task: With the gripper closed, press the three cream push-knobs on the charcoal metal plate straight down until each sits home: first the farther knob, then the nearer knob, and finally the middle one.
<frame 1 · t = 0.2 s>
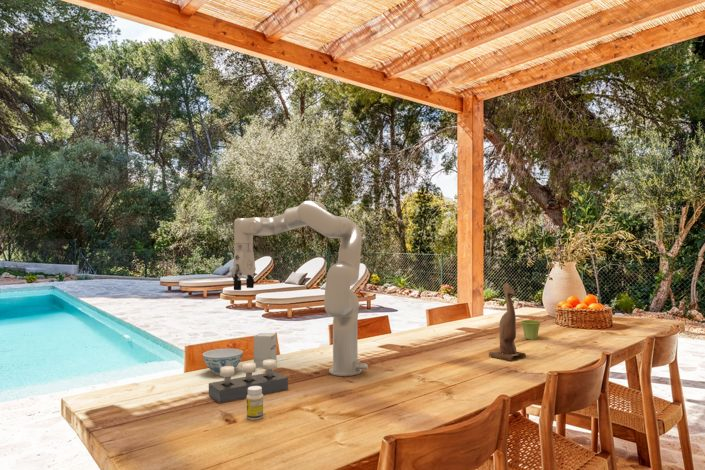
hand: (243, 288, 202), 31 cm above the table, tool pointing down, fingers open, 9 cm apart
bird sculpture: (507, 358, 208), on the table
knob middle: (248, 372, 163), point 7 cm above the table, slide at 0.0 cm
chinaware: (223, 373, 188), on the table
knob plate: (249, 392, 163), on the table
plant pot: (531, 339, 247), on the table
supplement box: (265, 365, 198), on the table
supplement bottle: (255, 417, 139), on the table
knob 1: (227, 376, 158), point 7 cm above the table, slide at 0.0 cm
knob 2: (269, 369, 167), point 7 cm above the table, slide at 0.0 cm
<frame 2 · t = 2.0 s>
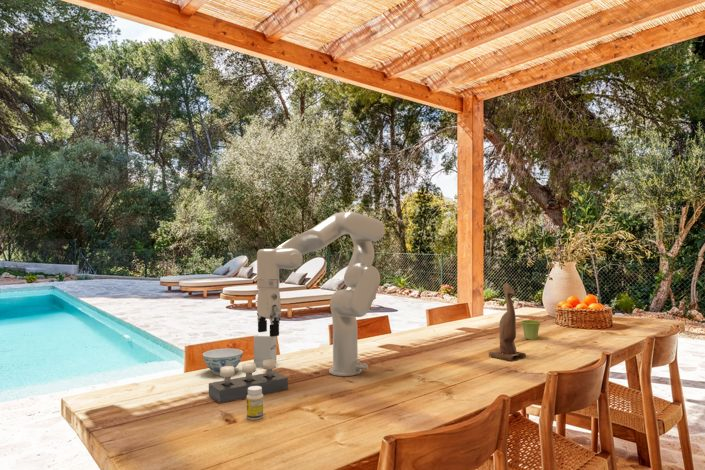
hand: (268, 333, 168), 19 cm above the table, tool pointing down, fingers open, 9 cm apart
nothing on the table moved.
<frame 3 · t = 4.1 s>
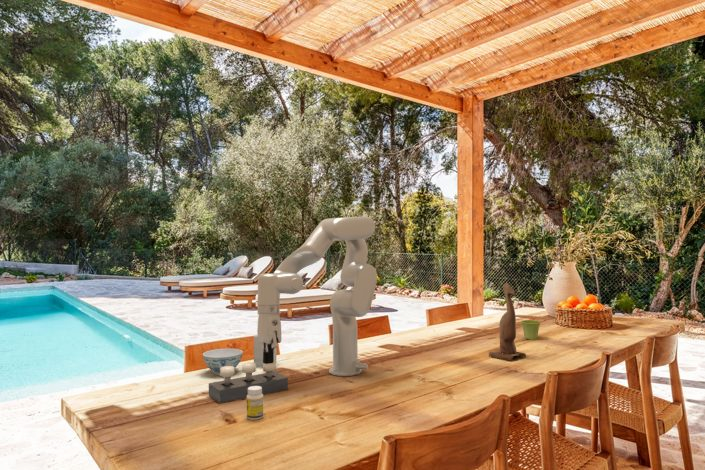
hand: (268, 362, 167), 9 cm above the table, tool pointing down, fingers closed
knob 2: (269, 371, 167), point 6 cm above the table, slide at 0.7 cm, touching gripper
everything else where it was.
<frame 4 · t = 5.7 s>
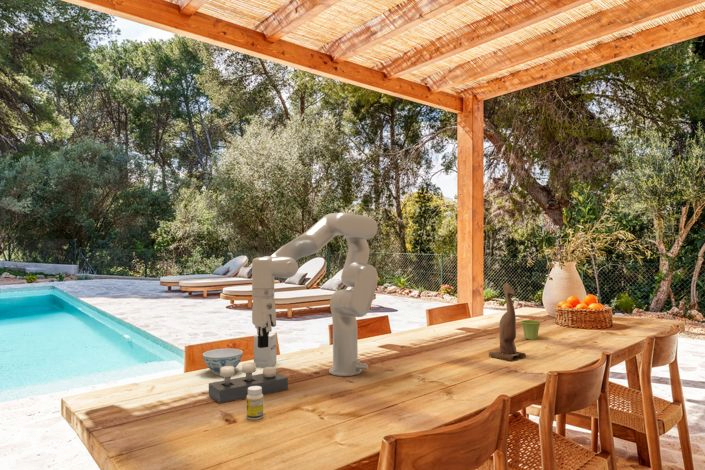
hand: (263, 347, 166), 14 cm above the table, tool pointing down, fingers closed
knob 2: (269, 376, 167), point 4 cm above the table, slide at 2.6 cm
everything else where it was.
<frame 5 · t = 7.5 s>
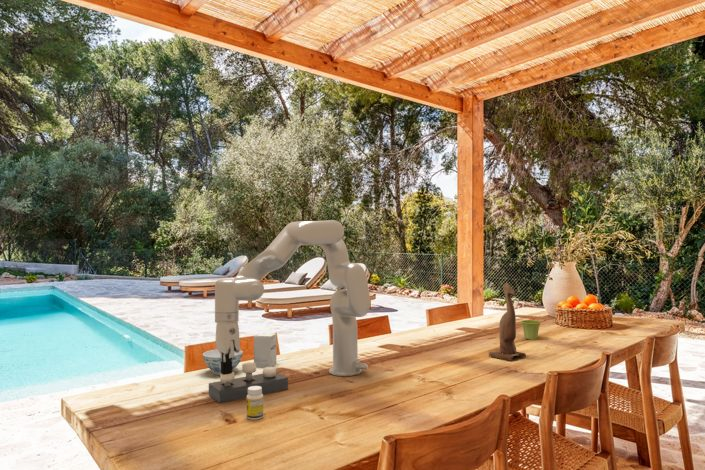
hand: (226, 373, 158), 8 cm above the table, tool pointing down, fingers closed
knob 1: (227, 382, 158), point 5 cm above the table, slide at 1.9 cm, touching gripper
everything else where it was.
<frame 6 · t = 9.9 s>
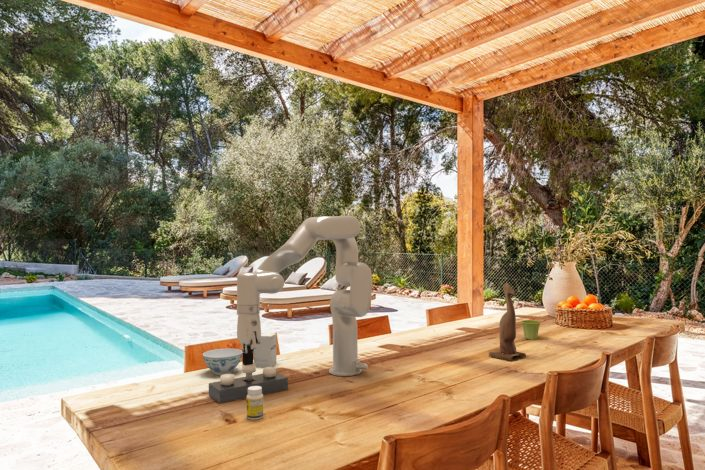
hand: (247, 364, 162), 9 cm above the table, tool pointing down, fingers closed
knob middle: (248, 372, 163), point 7 cm above the table, slide at 0.0 cm, touching gripper
knob 1: (227, 384, 158), point 4 cm above the table, slide at 2.6 cm
everything else where it was.
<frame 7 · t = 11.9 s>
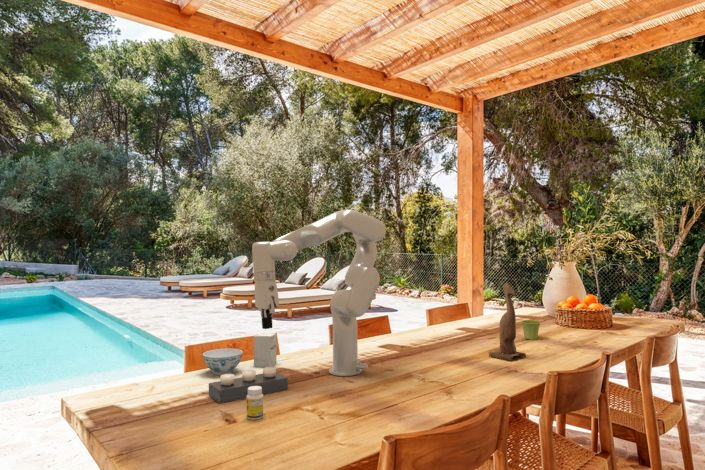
hand: (267, 328, 172), 20 cm above the table, tool pointing down, fingers closed
knob middle: (249, 380, 163), point 4 cm above the table, slide at 2.6 cm
everything else where it was.
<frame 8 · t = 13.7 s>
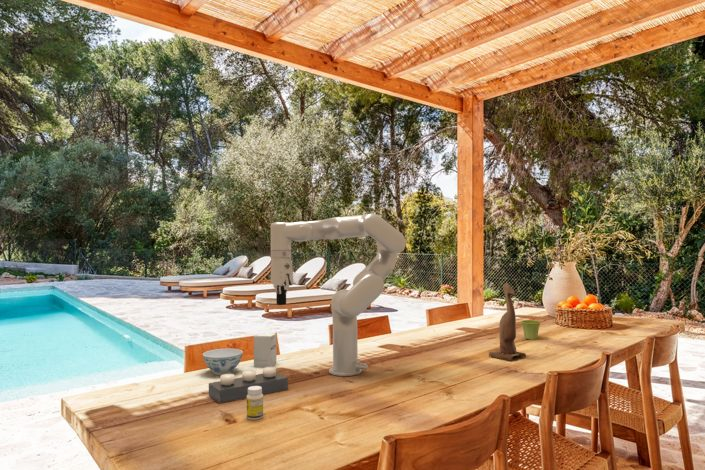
hand: (281, 304, 181), 27 cm above the table, tool pointing down, fingers closed
nothing on the table moved.
at the end: knob 2 slide at 2.6 cm; knob 1 slide at 2.6 cm; knob middle slide at 2.6 cm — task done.
